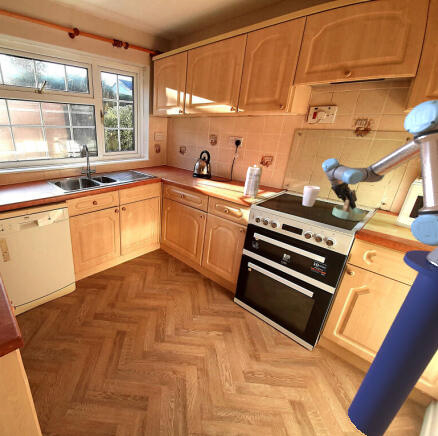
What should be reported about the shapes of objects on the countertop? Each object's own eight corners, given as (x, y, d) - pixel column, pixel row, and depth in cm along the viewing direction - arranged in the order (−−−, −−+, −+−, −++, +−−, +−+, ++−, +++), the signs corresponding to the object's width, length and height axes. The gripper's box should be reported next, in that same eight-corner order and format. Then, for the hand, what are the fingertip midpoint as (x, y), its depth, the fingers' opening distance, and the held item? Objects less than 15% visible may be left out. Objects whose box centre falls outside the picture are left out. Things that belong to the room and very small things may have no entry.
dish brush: (343, 216, 148) (351, 192, 143) (337, 214, 152) (344, 190, 146) (350, 216, 150) (359, 192, 144) (344, 213, 153) (352, 190, 148)
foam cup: (296, 203, 173) (301, 186, 168) (305, 202, 176) (310, 185, 172) (309, 208, 165) (314, 189, 160) (318, 206, 168) (323, 188, 164)
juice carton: (257, 196, 188) (263, 165, 179) (255, 198, 182) (261, 166, 173) (245, 194, 193) (250, 163, 184) (242, 196, 187) (247, 165, 178)
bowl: (365, 223, 140) (368, 215, 138) (332, 217, 148) (335, 210, 146) (360, 216, 152) (363, 208, 151) (330, 211, 160) (333, 203, 158)
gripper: (321, 182, 147) (335, 207, 157) (346, 189, 133) (359, 215, 143) (331, 173, 147) (344, 199, 156) (357, 179, 133) (369, 206, 142)
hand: (351, 207), depth 150 cm, fingers closed on dish brush, 2 cm apart
